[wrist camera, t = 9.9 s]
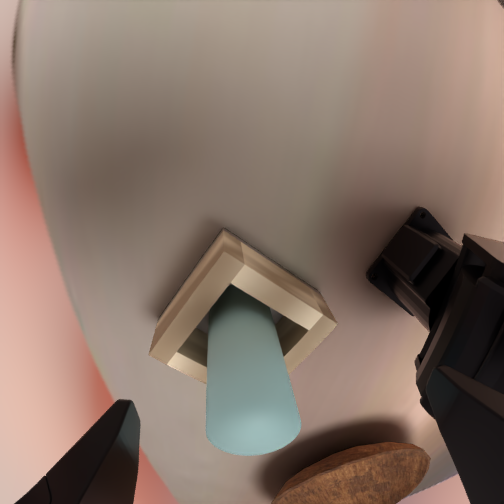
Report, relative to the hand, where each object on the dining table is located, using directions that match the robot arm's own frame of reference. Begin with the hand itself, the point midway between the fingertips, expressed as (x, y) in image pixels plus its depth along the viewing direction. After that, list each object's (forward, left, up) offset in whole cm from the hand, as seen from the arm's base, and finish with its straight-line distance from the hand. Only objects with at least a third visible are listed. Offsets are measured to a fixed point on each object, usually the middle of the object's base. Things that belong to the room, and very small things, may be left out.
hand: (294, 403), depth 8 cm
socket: (-2, +4, -13) cm, 14 cm away
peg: (-2, +4, -12) cm, 13 cm away
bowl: (-27, +17, -13) cm, 35 cm away
